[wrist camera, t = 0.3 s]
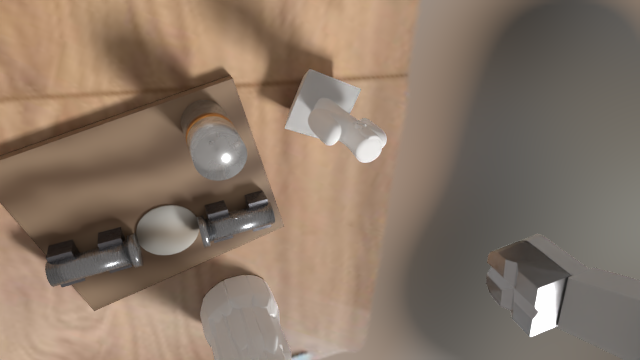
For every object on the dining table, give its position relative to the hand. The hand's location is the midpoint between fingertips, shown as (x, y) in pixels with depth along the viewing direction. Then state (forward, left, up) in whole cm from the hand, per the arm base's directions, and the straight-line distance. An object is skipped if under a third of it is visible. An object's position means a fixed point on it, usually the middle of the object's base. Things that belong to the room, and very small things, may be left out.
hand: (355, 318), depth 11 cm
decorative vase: (+39, -7, -39) cm, 55 cm away
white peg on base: (+12, +12, -39) cm, 42 cm away
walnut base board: (+17, -10, -38) cm, 43 cm away
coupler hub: (+9, -1, -37) cm, 38 cm away
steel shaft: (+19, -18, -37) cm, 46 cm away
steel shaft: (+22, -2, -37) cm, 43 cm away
